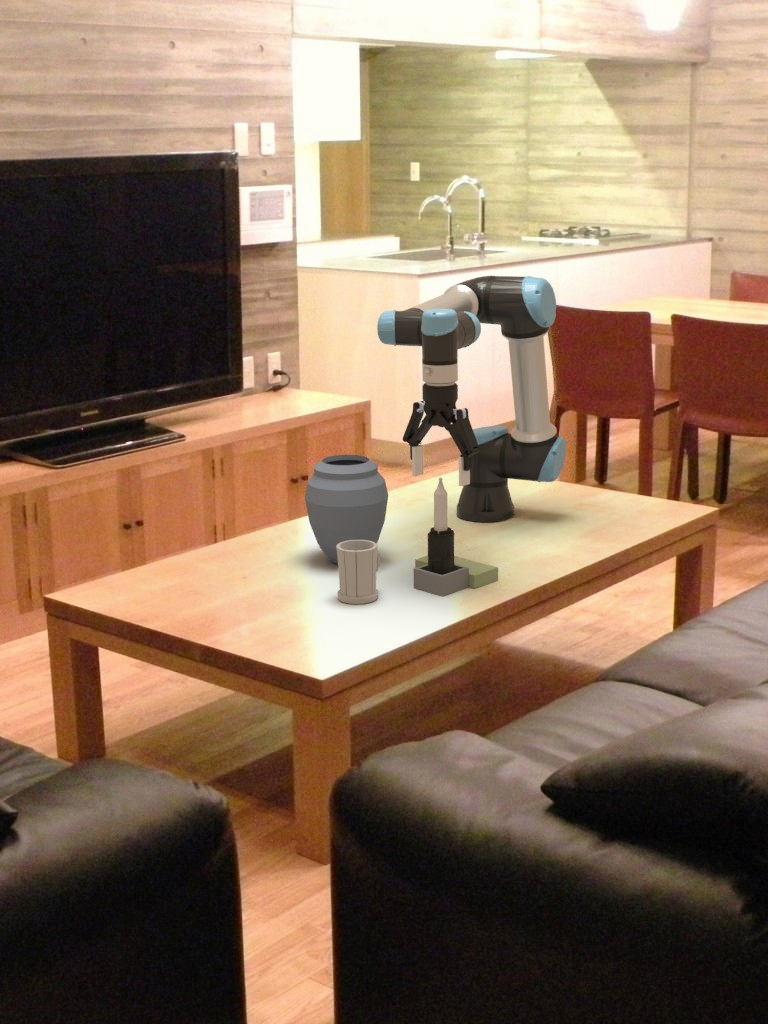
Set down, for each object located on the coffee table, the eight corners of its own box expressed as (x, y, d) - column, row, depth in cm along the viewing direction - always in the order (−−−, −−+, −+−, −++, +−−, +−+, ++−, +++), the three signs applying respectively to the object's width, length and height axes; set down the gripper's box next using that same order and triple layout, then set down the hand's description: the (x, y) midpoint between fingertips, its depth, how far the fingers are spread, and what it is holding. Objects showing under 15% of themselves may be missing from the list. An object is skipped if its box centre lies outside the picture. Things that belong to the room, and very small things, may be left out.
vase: (289, 562, 326) (285, 461, 319) (347, 543, 339) (345, 447, 333) (348, 578, 313) (346, 474, 306) (406, 558, 326) (405, 458, 320)
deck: (388, 580, 311) (388, 561, 309) (438, 564, 322) (438, 545, 321) (448, 598, 298) (448, 578, 297) (498, 580, 310) (498, 561, 308)
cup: (339, 589, 305) (338, 537, 302) (380, 589, 305) (379, 537, 302) (336, 605, 295) (334, 551, 292) (378, 604, 295) (377, 551, 292)
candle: (455, 585, 307) (455, 475, 300) (448, 592, 302) (448, 481, 296) (433, 583, 309) (432, 474, 302) (426, 589, 304) (425, 479, 297)
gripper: (385, 378, 299) (387, 474, 305) (472, 392, 282) (472, 492, 288) (409, 374, 304) (410, 467, 310) (496, 387, 287) (496, 485, 293)
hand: (440, 480), depth 299 cm, fingers open, 13 cm apart
